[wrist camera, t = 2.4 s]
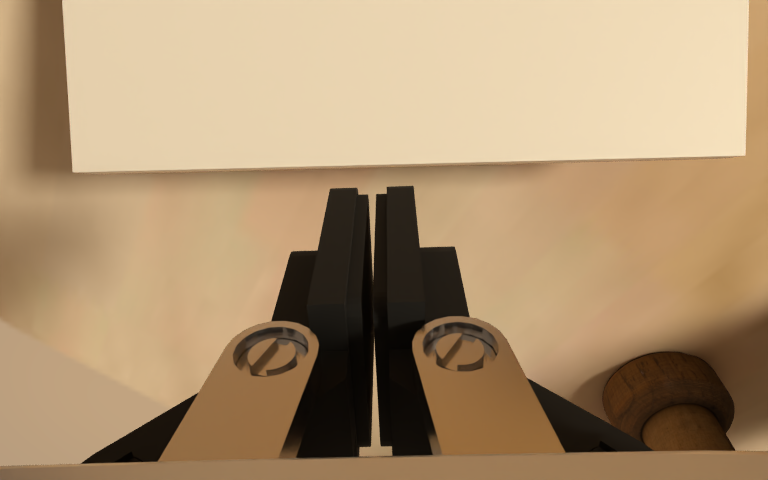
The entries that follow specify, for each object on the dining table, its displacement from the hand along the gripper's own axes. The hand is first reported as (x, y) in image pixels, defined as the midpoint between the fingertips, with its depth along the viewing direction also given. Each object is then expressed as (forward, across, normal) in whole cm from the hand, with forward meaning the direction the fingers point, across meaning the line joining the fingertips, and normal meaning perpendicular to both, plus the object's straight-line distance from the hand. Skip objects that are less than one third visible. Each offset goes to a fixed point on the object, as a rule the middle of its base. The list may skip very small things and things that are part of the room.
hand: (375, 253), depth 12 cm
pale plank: (+12, -1, -1) cm, 12 cm away
